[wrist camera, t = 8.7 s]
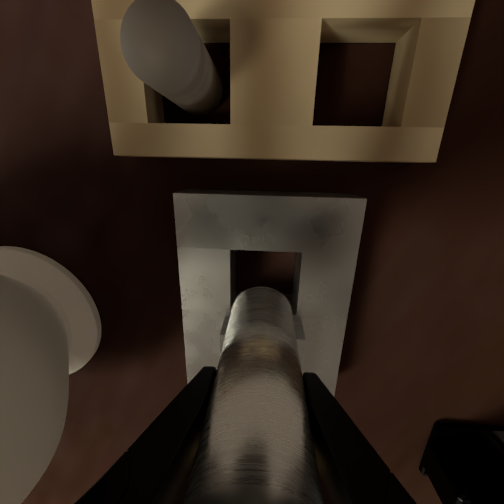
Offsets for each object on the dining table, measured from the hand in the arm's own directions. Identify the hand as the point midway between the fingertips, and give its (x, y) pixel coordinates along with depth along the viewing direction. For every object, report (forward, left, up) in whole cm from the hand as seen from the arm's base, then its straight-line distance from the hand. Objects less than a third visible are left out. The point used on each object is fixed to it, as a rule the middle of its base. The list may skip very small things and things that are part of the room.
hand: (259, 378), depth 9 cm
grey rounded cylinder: (0, 0, -4) cm, 4 cm away
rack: (0, -11, -11) cm, 16 cm away
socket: (0, +3, -11) cm, 11 cm away
